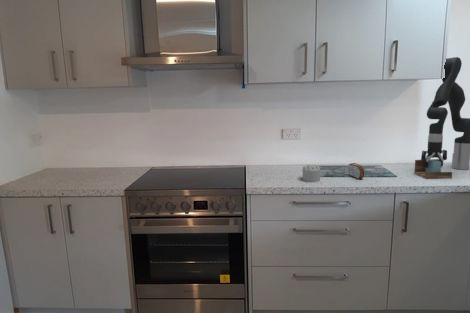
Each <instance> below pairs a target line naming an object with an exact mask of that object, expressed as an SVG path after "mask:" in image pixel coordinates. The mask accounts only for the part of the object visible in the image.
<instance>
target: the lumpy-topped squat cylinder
mask: <svg viewBox="0 0 470 313" xmlns="http://www.w3.org/2000/svg"><path fill="white" fill-rule="evenodd" d="M302 180H303V181H305V182H307V183H318V182H320V181H321V167H320V165H316V164H306V165H303V166H302Z"/></svg>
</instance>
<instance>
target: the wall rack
mask: <svg viewBox="0 0 470 313" xmlns="http://www.w3.org/2000/svg"><path fill="white" fill-rule="evenodd" d="M431 159H432V158H431ZM431 159H429V160H431ZM433 159H434V160H437V161H440V160H439V158H433ZM425 168H426V167H425V166H424V161H423V160H421V159H414V172H413V174H414V175H416V176H419V177H420V178H423V179H425V180H434V179H435V180H437V179H452V178H453V172H451V171H441V172H431V173H426V172H425Z"/></svg>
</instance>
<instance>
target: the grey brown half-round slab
mask: <svg viewBox="0 0 470 313" xmlns="http://www.w3.org/2000/svg"><path fill="white" fill-rule="evenodd" d="M348 174H349V175H350V176H351V177H352V178H355V179H357V180H361V179H364V178H365V169H364V167H363V166H362V165H361V164H358V163H357V162H356V163H355V162H352V163H349V164H348Z"/></svg>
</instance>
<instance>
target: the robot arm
mask: <svg viewBox="0 0 470 313" xmlns="http://www.w3.org/2000/svg"><path fill="white" fill-rule="evenodd" d="M445 59H446V62H445V65H444V69H445V78H443V79H442V78H441V80H442V84H440V86H438V87H437V90H436V92H435V95H434V98H433V101H432V102H431V104H430V106H429V107H428V109H427V111H426V118H428V119H429V120H438V121H437V122H434V123H430V124H429V126H428V127H429V128H428V137H427V150H422V151H421V158H420V160H423V161H424V166H425V167H426V168H428V161H429V159H439V160H440V162H441V168H443V166H444V161H447V159H448V150H446V149H443V140H444V138H443V137H444V136H443V134H444V133H443V132H444V126H445V123H446V119H447V118H448V113H449V111H450V118H451V123H452V130H454V132H457V133H463V134H462V135H461V136H459V137H456V138H454V142H453V143H454V144H453V145H454V146H453V153H452V159H451V168H452V169H455V170H463V171H464V170H465V171H466V170H469V169H470V117H468V118H467V117H462V116H461V110H462V108H463V107H464V105H465V102H466V95H465V92H464V89H463V87H461V86H460V85H459V83H457V82H456V80H457V78H458V76H459V73H460V71H461V69H462V64H463V63H462V59H461V58H460V57H458V56H456V57H455V56H454V57H449V58H445ZM447 104H448V106H449V111H448V110H447V108H446V107H443V106H446V105H447ZM441 154H442V155H441Z"/></svg>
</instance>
